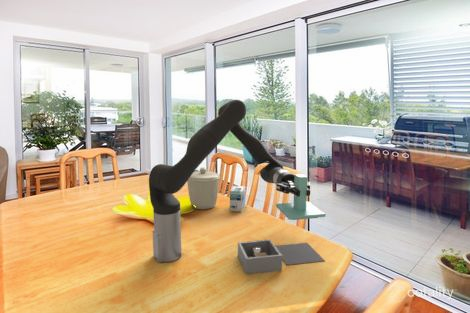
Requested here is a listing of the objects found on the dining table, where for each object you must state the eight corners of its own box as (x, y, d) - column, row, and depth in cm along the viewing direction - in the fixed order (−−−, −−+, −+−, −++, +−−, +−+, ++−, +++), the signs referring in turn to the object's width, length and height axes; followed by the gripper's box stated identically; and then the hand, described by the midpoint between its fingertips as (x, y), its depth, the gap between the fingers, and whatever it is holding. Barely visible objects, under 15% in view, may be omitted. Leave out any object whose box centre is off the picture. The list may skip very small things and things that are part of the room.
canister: (226, 208, 160) (226, 169, 157) (195, 214, 151) (194, 173, 147) (210, 199, 176) (210, 163, 172) (181, 204, 166) (180, 166, 162)
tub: (281, 272, 100) (282, 255, 99) (246, 276, 98) (246, 259, 97) (269, 254, 112) (270, 239, 111) (237, 258, 109) (237, 242, 108)
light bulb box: (242, 212, 155) (242, 191, 154) (229, 211, 157) (229, 190, 155) (245, 205, 166) (246, 185, 164) (233, 204, 167) (233, 185, 165)
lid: (325, 219, 104) (327, 179, 102) (289, 222, 101) (290, 181, 99) (308, 206, 117) (310, 170, 114) (275, 209, 114) (276, 172, 111)
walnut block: (268, 269, 100) (269, 258, 100) (257, 270, 100) (257, 259, 99) (265, 263, 104) (265, 252, 104) (253, 264, 103) (253, 253, 103)
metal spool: (255, 261, 105) (255, 250, 105) (250, 258, 108) (250, 247, 107) (262, 259, 107) (262, 248, 106) (257, 255, 109) (257, 245, 109)
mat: (324, 263, 106) (324, 260, 106) (286, 267, 103) (286, 264, 103) (306, 245, 120) (307, 242, 120) (272, 248, 117) (272, 245, 117)
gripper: (268, 172, 119) (285, 183, 102) (302, 170, 122) (323, 181, 105) (268, 190, 120) (284, 205, 104) (301, 188, 123) (322, 202, 107)
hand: (304, 193), depth 105 cm, fingers closed on lid, 3 cm apart
